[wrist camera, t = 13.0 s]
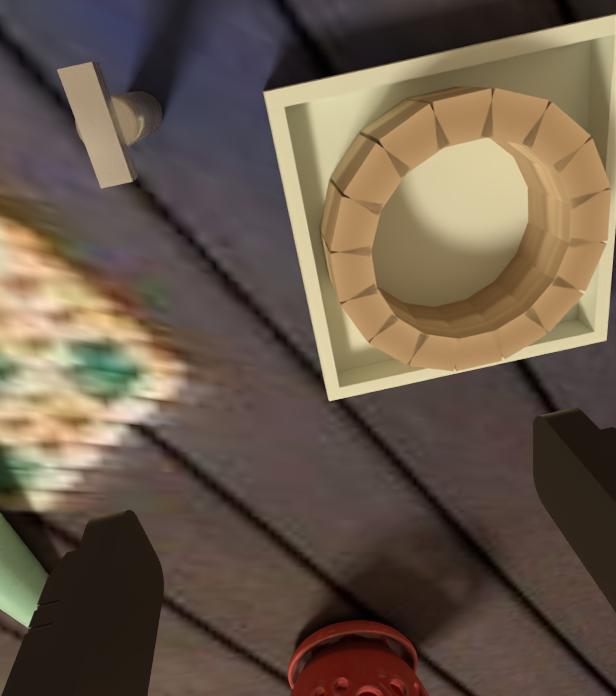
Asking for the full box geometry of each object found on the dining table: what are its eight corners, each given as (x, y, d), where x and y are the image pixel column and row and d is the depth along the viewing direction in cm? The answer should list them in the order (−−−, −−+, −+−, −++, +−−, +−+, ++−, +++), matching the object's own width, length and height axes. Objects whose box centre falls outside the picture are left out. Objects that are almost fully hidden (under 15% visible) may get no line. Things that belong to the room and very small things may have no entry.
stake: (108, 73, 26) (45, 72, 18) (148, 65, 26) (103, 59, 18) (136, 158, 28) (90, 190, 20) (173, 149, 28) (142, 178, 20)
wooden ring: (298, 123, 27) (306, 131, 23) (564, 61, 27) (619, 58, 23) (344, 356, 34) (357, 393, 30) (559, 306, 34) (601, 337, 30)
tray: (262, 91, 27) (264, 92, 25) (601, 16, 27) (633, 10, 25) (323, 380, 35) (328, 401, 33) (583, 323, 35) (606, 340, 33)
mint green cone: (66, 743, 42) (-178, 511, 30) (85, 674, 47) (-118, 450, 35) (129, 724, 42) (-92, 482, 29) (141, 657, 47) (-43, 425, 34)
